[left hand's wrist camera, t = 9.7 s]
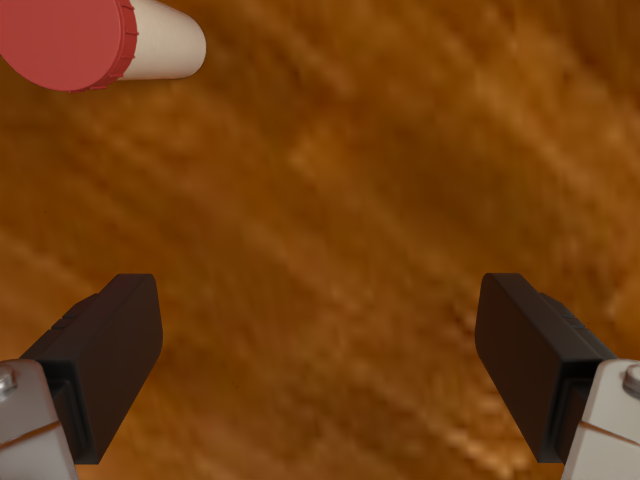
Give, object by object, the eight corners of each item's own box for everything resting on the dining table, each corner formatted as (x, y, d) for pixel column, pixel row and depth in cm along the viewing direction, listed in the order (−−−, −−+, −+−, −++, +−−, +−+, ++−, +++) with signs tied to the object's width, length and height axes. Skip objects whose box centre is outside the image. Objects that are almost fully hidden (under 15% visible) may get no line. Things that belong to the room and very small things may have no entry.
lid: (92, 117, 20) (71, 121, 18) (-14, 26, 18) (-47, 21, 17) (165, 24, 18) (149, 19, 17) (57, -80, 17) (29, -96, 16)
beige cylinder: (180, 91, 32) (74, 105, 18) (130, 45, 31) (-23, 22, 17) (219, 44, 31) (139, 21, 17) (169, -5, 30) (40, -73, 16)
